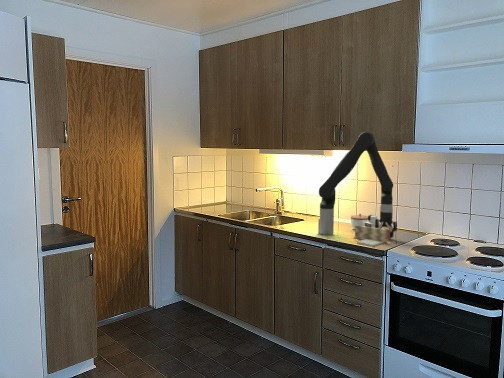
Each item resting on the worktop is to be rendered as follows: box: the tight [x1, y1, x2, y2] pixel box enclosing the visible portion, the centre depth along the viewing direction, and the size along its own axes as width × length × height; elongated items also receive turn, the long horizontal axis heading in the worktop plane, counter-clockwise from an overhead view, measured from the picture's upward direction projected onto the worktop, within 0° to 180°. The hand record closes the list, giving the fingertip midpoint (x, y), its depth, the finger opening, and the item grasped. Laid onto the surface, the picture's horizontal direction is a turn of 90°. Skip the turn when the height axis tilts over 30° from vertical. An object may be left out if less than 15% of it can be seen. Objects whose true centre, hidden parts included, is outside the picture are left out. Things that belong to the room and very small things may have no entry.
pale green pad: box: [356, 239, 383, 247], centre depth 258 cm, size 11×10×1 cm
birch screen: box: [353, 225, 387, 244], centre depth 267 cm, size 20×5×8 cm, turn 44°
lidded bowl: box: [350, 213, 369, 230], centre depth 299 cm, size 13×13×11 cm
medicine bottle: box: [365, 214, 381, 228], centre depth 288 cm, size 7×7×12 cm
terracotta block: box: [383, 227, 392, 241], centre depth 271 cm, size 5×5×6 cm
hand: (385, 236), depth 271 cm, fingers open, 7 cm apart
